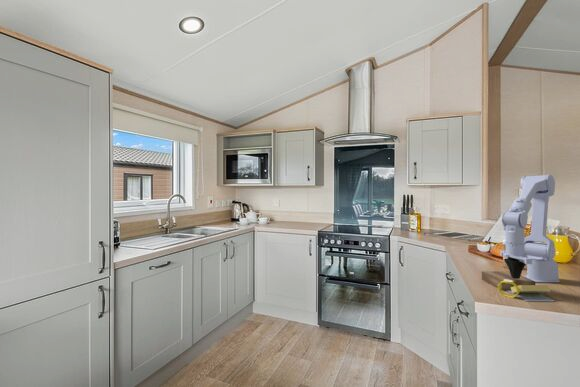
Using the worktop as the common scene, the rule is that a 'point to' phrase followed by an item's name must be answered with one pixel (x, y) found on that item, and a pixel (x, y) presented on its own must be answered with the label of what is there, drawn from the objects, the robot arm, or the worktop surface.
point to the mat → (532, 297)
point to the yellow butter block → (531, 289)
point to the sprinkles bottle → (504, 256)
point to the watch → (509, 283)
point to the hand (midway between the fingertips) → (515, 278)
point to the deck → (499, 276)
